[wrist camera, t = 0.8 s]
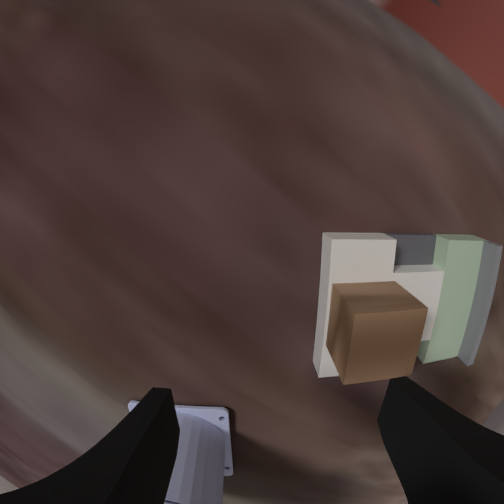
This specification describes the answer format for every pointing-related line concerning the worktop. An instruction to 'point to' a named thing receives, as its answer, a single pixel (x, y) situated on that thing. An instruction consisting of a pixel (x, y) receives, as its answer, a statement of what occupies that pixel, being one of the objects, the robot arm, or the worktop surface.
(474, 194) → the worktop surface
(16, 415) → the worktop surface
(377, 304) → the walnut block
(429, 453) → the robot arm
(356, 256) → the board
